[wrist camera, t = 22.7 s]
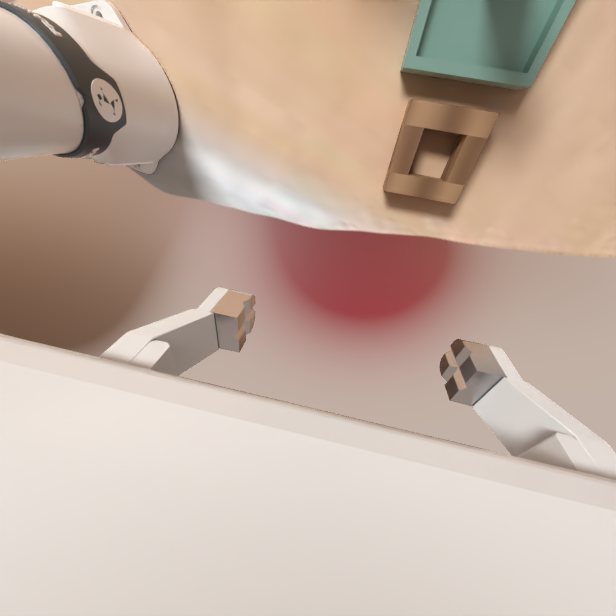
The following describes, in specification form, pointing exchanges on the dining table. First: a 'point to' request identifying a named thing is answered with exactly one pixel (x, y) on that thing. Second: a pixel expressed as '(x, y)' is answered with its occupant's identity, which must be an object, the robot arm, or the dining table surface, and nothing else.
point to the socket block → (464, 155)
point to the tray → (484, 40)
